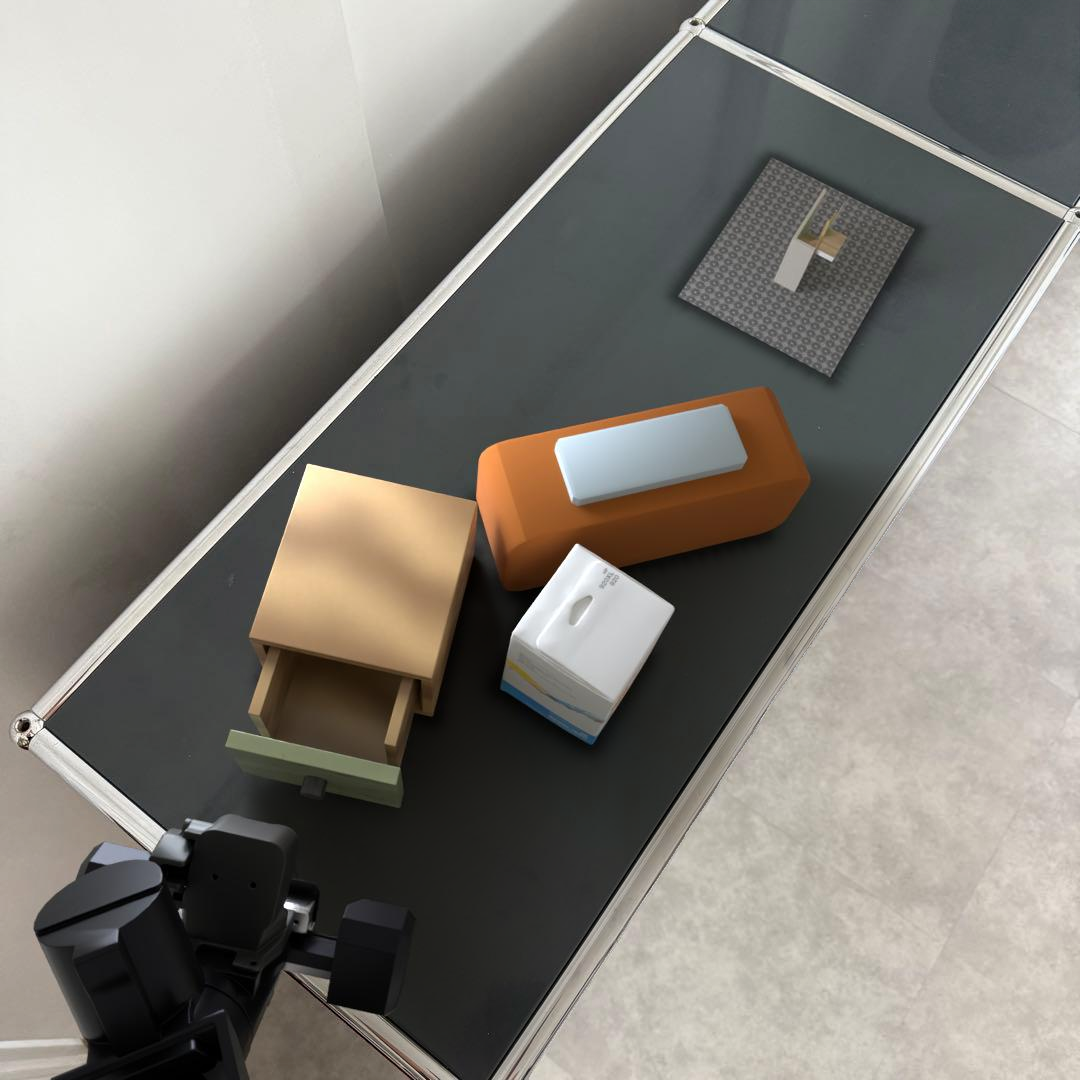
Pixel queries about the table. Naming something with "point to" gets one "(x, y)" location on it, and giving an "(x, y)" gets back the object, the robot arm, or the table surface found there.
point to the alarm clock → (639, 485)
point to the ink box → (583, 643)
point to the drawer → (328, 727)
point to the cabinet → (370, 577)
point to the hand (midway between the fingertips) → (287, 841)
